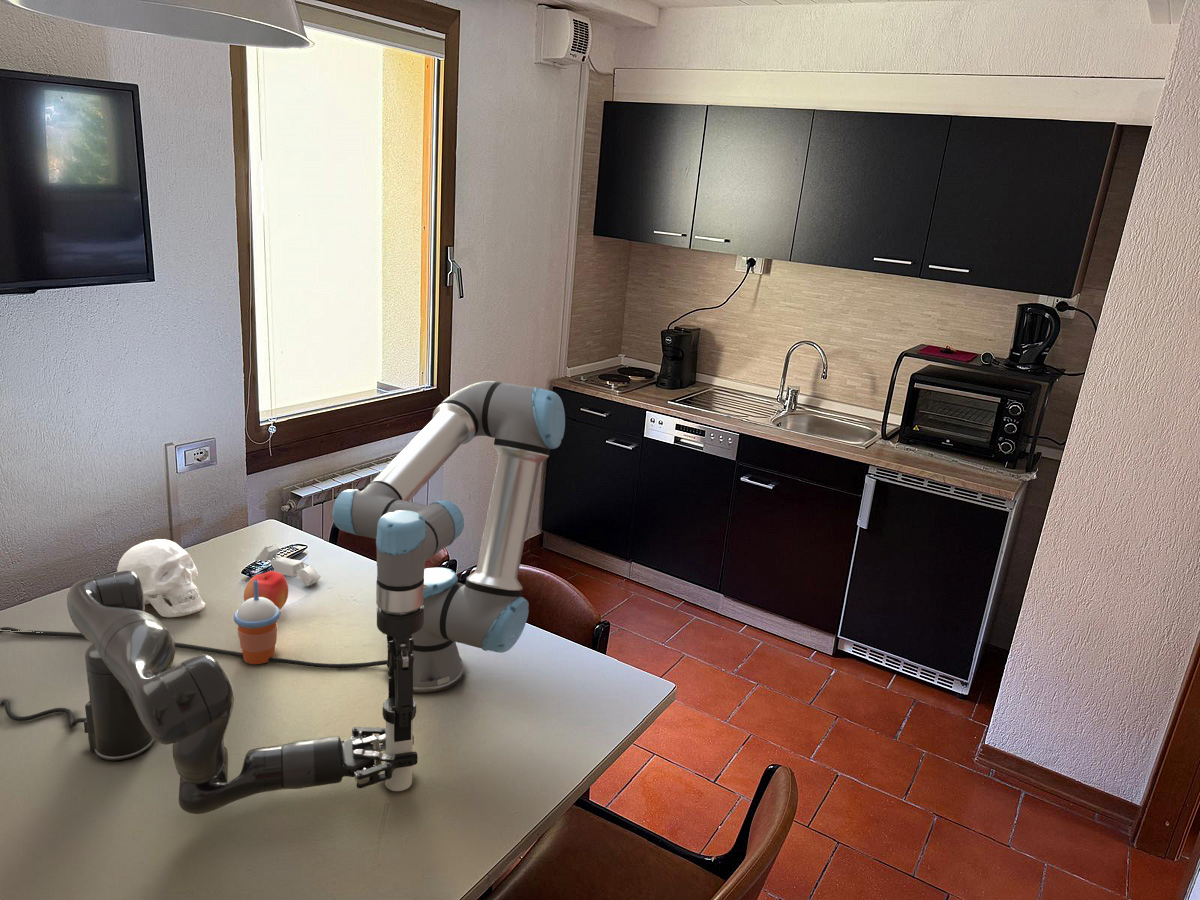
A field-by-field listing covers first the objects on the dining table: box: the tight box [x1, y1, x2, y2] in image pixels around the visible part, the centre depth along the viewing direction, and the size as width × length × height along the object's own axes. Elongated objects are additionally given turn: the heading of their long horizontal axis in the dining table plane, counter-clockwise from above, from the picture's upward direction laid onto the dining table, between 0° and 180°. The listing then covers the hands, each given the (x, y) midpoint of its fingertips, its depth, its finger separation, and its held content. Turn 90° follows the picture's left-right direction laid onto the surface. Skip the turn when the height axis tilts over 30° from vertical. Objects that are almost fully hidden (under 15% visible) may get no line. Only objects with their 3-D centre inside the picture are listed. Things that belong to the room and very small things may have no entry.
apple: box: [243, 570, 289, 611], centre depth 199 cm, size 10×10×10 cm
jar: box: [384, 719, 414, 792], centre depth 147 cm, size 4×4×15 cm
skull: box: [116, 538, 206, 618], centre depth 199 cm, size 13×22×16 cm, turn 73°
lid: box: [382, 696, 417, 724], centre depth 145 cm, size 6×6×2 cm
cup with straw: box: [233, 580, 281, 665], centre depth 181 cm, size 9×9×18 cm
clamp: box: [254, 544, 322, 587], centre depth 219 cm, size 20×4×7 cm, turn 62°
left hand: (414, 748), depth 148 cm, fingers closed on jar, 4 cm apart
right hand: (399, 724), depth 146 cm, fingers open, 7 cm apart
